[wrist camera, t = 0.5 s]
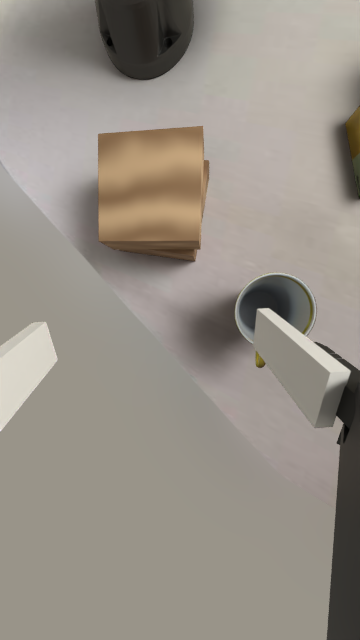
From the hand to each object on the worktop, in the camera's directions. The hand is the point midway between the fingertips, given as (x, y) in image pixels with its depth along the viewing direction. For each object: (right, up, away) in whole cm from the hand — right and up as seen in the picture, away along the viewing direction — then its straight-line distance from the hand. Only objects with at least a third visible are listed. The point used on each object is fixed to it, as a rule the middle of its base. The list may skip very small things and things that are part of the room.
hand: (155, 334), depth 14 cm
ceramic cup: (+15, +1, +24) cm, 28 cm away
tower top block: (-2, +19, +20) cm, 28 cm away
